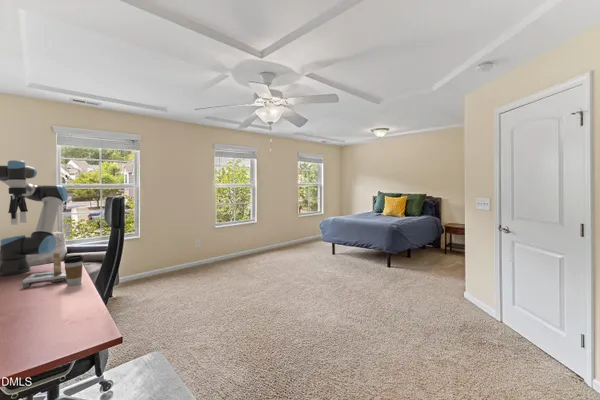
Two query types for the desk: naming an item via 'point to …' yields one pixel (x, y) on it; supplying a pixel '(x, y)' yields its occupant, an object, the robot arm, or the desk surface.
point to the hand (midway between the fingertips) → (19, 223)
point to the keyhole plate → (46, 277)
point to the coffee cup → (73, 269)
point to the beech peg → (57, 266)
